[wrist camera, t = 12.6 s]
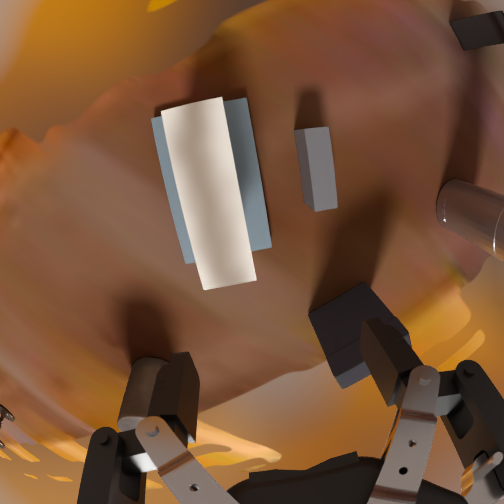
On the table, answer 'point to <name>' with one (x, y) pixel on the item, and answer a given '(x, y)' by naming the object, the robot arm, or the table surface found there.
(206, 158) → the shelf board
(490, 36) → the phone stand
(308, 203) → the block
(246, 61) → the table surface
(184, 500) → the robot arm
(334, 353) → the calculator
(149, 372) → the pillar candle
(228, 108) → the peg stand
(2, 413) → the candlestick
